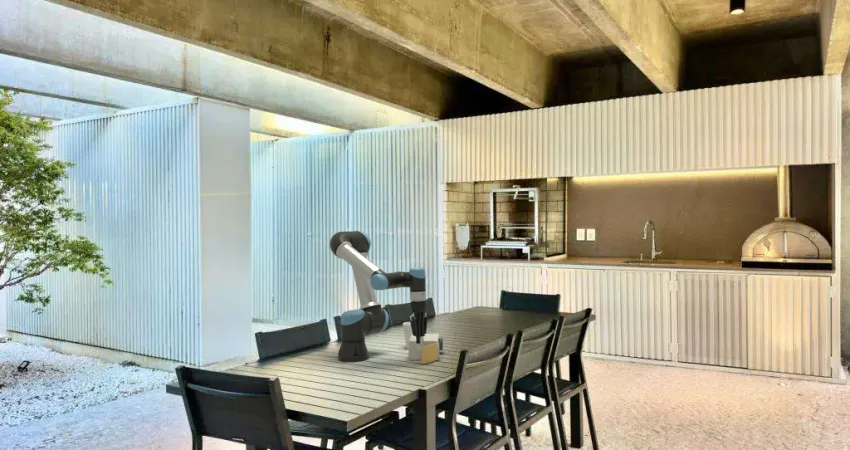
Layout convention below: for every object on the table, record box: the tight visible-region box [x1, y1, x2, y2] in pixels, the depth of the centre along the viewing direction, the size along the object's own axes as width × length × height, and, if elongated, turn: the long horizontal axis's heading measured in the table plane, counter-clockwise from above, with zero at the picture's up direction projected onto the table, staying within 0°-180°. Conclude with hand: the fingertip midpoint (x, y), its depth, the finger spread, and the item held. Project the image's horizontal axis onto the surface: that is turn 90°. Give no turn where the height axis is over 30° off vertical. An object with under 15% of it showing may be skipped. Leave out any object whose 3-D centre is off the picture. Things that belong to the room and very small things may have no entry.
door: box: [421, 343, 440, 365], centre depth 284 cm, size 1×13×8 cm, turn 142°
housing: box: [408, 333, 444, 361], centre depth 299 cm, size 20×16×10 cm
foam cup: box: [402, 321, 412, 350], centre depth 320 cm, size 10×9×13 cm
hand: (420, 350), depth 284 cm, fingers closed
